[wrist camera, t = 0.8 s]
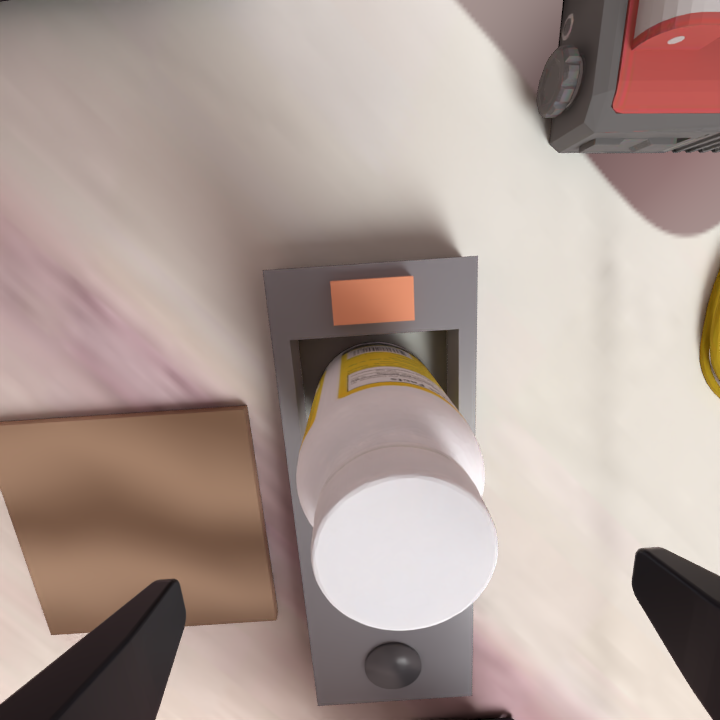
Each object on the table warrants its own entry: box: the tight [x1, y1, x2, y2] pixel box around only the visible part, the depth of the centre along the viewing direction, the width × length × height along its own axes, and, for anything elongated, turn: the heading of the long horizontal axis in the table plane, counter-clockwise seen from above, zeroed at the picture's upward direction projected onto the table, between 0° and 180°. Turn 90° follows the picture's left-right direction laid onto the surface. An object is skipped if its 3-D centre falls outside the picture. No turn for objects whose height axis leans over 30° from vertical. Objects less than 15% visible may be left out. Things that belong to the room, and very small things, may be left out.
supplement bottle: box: [296, 342, 498, 631], centre depth 12 cm, size 5×5×10 cm
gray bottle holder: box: [263, 256, 478, 706], centre depth 17 cm, size 22×8×3 cm, turn 4°
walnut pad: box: [0, 405, 278, 635], centre depth 18 cm, size 12×12×1 cm
